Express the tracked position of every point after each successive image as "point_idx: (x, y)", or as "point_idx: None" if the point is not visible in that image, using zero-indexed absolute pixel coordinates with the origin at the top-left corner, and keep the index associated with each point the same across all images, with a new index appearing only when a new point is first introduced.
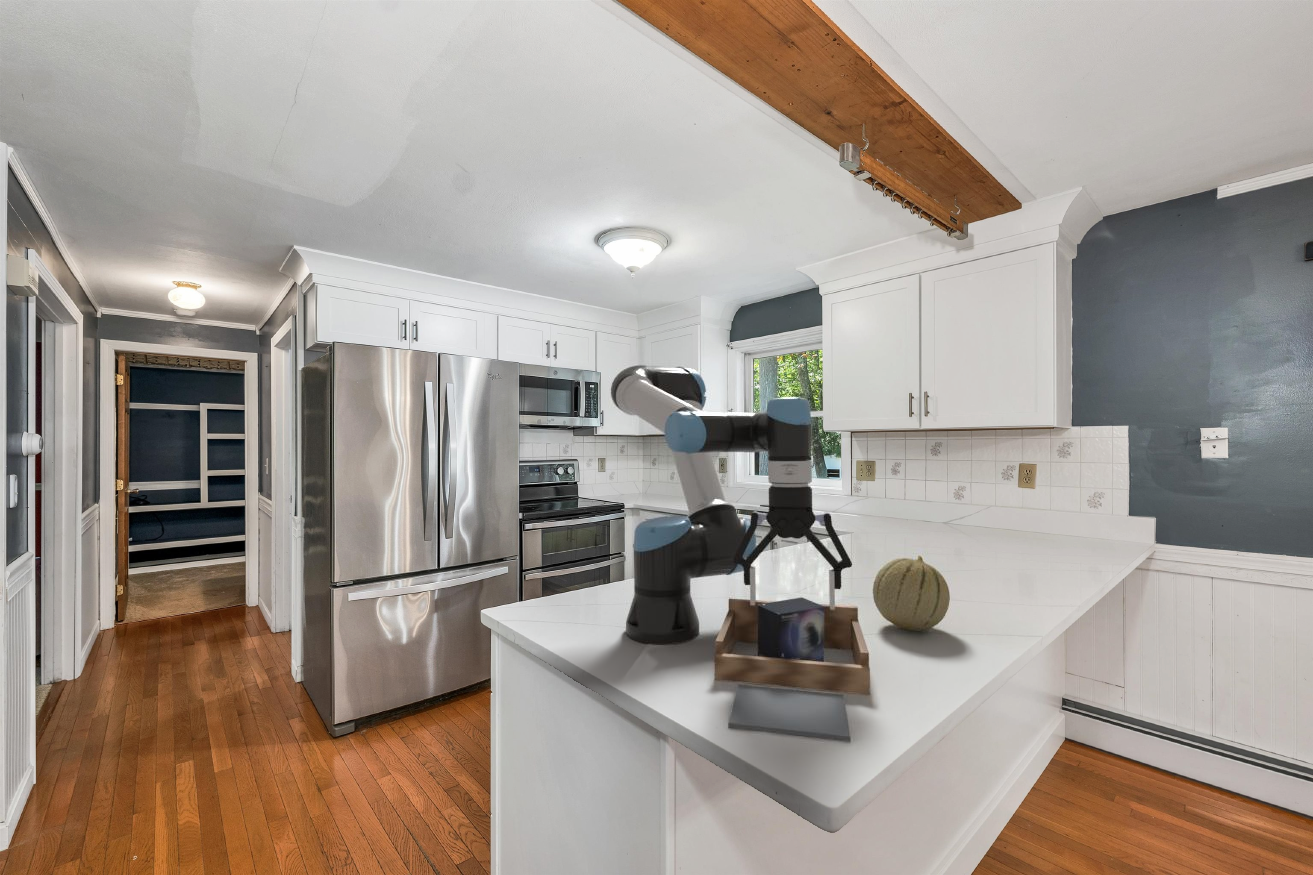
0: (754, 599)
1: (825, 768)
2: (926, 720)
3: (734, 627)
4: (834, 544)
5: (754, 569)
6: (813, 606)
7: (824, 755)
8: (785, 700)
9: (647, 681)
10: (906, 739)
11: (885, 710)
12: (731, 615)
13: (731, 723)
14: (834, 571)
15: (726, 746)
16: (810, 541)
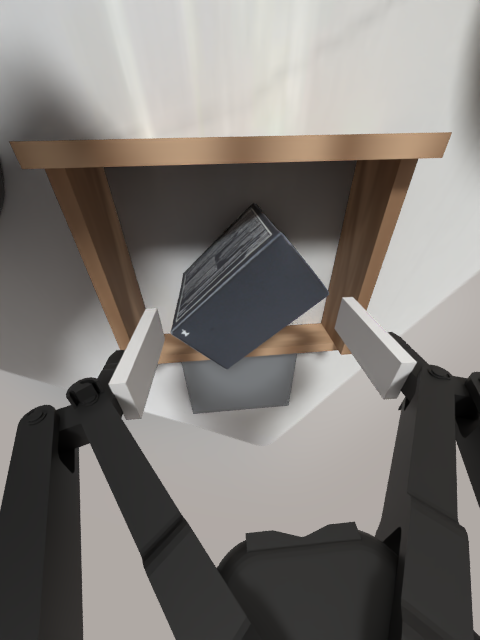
0: (161, 347)
1: (265, 427)
2: None
3: (89, 173)
4: (478, 497)
5: (138, 402)
6: (301, 307)
7: (266, 418)
8: (236, 373)
9: (71, 366)
10: (330, 390)
11: (331, 355)
12: (81, 222)
13: (196, 413)
14: (401, 388)
15: (199, 426)
16: (381, 523)
